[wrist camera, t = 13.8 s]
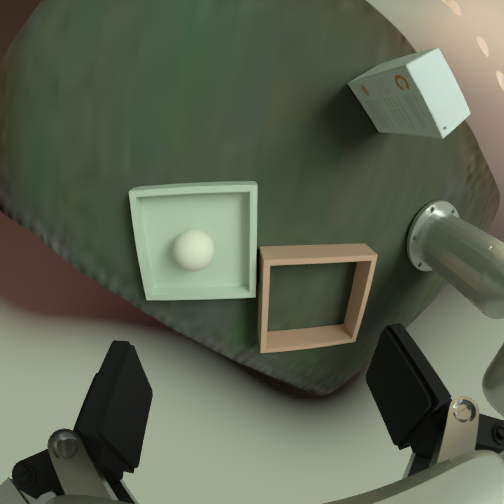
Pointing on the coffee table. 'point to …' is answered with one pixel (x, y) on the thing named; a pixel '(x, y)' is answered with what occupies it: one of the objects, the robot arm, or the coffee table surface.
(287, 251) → the tan square frame
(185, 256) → the ball
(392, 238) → the coffee table surface
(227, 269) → the tray
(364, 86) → the small box
